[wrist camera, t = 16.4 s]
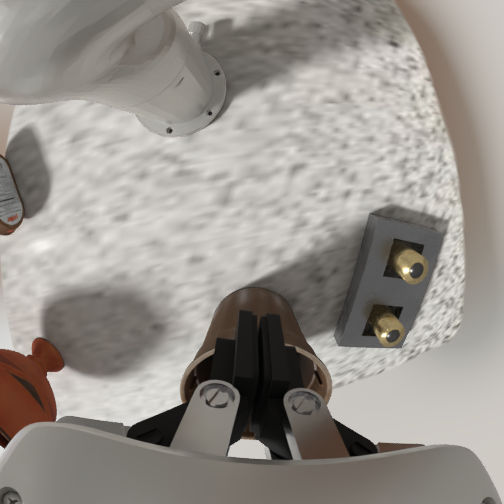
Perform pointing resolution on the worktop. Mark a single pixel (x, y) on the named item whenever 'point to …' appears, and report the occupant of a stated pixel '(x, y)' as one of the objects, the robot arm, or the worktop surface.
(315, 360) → the plant pot
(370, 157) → the worktop surface
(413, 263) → the brass cylinder
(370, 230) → the jig
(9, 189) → the tin
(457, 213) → the worktop surface
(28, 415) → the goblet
